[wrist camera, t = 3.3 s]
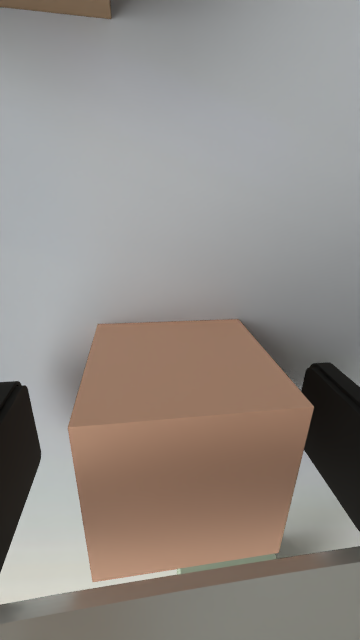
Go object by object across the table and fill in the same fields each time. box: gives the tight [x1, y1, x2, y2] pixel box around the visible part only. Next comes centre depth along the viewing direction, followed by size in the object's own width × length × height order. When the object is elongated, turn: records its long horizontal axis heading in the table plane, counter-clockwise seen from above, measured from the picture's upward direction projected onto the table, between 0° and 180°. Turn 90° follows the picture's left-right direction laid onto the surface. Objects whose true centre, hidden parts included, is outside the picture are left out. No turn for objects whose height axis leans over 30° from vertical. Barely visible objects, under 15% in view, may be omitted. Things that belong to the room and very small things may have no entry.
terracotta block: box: [68, 319, 314, 582], centre depth 9 cm, size 5×5×5 cm
